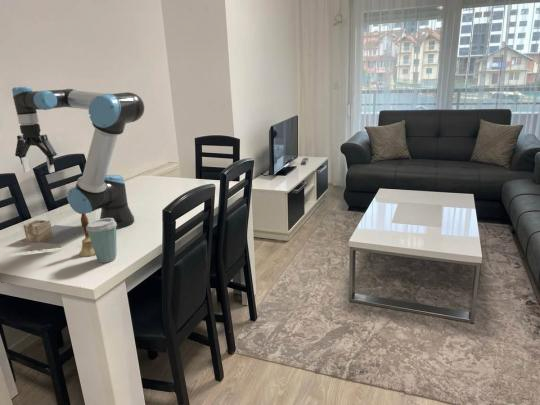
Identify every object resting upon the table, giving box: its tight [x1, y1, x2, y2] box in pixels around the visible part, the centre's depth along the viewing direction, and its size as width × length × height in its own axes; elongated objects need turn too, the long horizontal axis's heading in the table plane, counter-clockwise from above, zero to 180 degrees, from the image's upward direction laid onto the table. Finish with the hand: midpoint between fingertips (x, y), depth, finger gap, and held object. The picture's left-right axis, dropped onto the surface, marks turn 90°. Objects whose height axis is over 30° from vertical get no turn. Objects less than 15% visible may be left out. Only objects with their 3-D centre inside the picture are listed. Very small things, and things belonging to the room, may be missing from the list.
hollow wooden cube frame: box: [22, 219, 53, 243], centre depth 177 cm, size 7×7×7 cm
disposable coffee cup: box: [86, 218, 117, 263], centre depth 156 cm, size 11×11×15 cm
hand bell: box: [78, 213, 96, 258], centre depth 163 cm, size 8×8×16 cm
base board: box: [20, 224, 84, 245], centre depth 183 cm, size 20×19×2 cm
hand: (39, 172), depth 188 cm, fingers open, 13 cm apart
